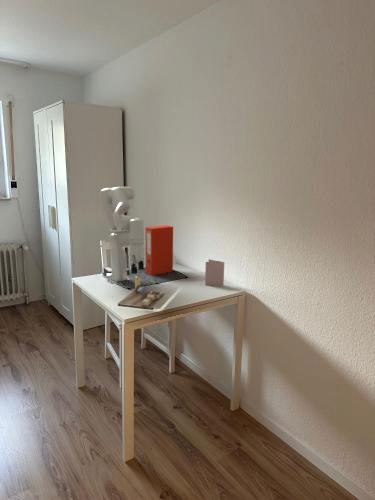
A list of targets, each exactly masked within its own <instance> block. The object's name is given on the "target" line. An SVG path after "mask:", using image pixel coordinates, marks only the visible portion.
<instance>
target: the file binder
mask: <svg viewBox="0 0 375 500" xmlns="http://www.w3.org/2000/svg"><path fill="white" fill-rule="evenodd" d="M173 261H174V226H171V225H167V224H166V225H157V226H156V225H155V226H154V225H153V226H145V273H146V274H148V275H149V276H152V277H153V276H156V275H163V274H167V272H168V273H172V272H171V271H174V269H173V268H174V267H173V266H174V262H173Z"/></svg>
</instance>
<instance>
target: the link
mask: <svg viewBox="0 0 375 500" xmlns="http://www.w3.org/2000/svg"><path fill="white" fill-rule="evenodd" d="M149 292H150V293H149V294H148V295H147V297H146V298H145V299H144V300H143V301H142V306H141V307H145V306H148V305H149V304H150V303H151V302H152V301H153V300H154V299H155V298H156V299H159V298H160V297H161V296H162V293H163V292H161V291H153V290H152V291H149Z"/></svg>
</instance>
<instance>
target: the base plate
mask: <svg viewBox="0 0 375 500" xmlns="http://www.w3.org/2000/svg"><path fill="white" fill-rule="evenodd" d="M150 292H151V291H146V293H145V294H141V292H140V293H135V289H134V290H133V291H131V292H130V293H129V294H128V295H126V296H125V297H123V299H121V300H120V301H119V302H117V307H122V308H123V307H124V308H131V309H140V310H148V311H149V310H150V311H153V310H154V309H155V308H154V306H155V305H157V303H158V302H159V301H160V300H161V299H162V298H163V297H164V296H165V295H166V293H164V292H162V296H161V297H160V298H159V299H156V298H155V299H154V300H153V301H152V302H151V303H150V304H149V305H148V306H142V301H143V300H144V299H145V298H146V297H147V295H148V294H149V293H150Z"/></svg>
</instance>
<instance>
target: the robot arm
mask: <svg viewBox="0 0 375 500" xmlns="http://www.w3.org/2000/svg"><path fill="white" fill-rule="evenodd" d="M98 196H99V202H100V204H101V206H102V208H103V210H104V212H105V216H106V217H105V218H106V221H107V226H108V228H109V230H110V231H112V233H110V234H109V236H108V243H109V247H110V262H111V263H110V267H111V269H112V273H111V274H109V273H107V274H106V275H105V276H106V278H109V280H108V281H109V282H110V283H111V284H115V283H117V282H123V281H126V280H127V281H130V278H129V276H128V274H127V269H128V268H127V267H128V264H127V258H128V257H127V252H126V250H125V249H123V248H125V247H129V262H130V264H129V265H130V270H131V271H130V273H131V274H132V275H137V274H138V270H141V271H142V270H144V269H145V266H144V265H145V260H144V259H145V251H144V249H145V248H144V243H145V240H144V239H145V237H144V236H145V235H144V220H143V219H142V218H139V217H137V216H133V217H132V216H130V215H123V214H125V213H126V212H128V211H129V210H130V208H131V201H133V200H135V196H136V193H135V190H134V189H133V188H132V186H115V187H106V188H105V187H104V188H103V189H101V190H100V192H99V195H98ZM137 265H138V266H137Z"/></svg>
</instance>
